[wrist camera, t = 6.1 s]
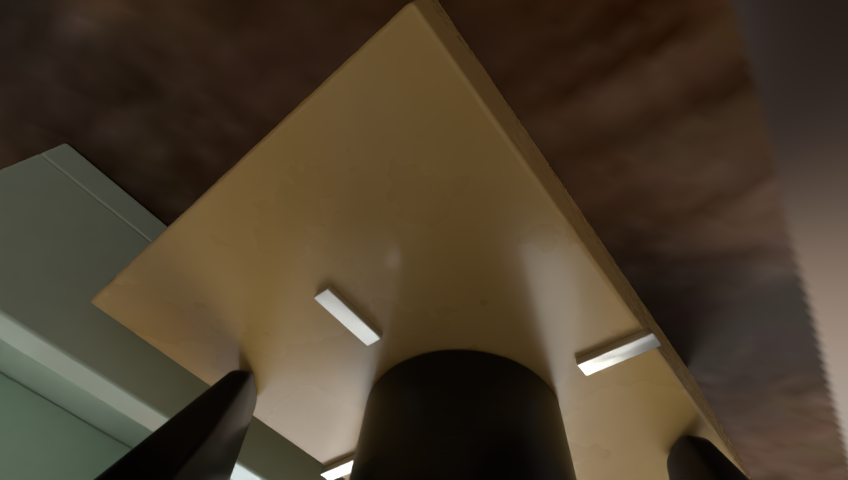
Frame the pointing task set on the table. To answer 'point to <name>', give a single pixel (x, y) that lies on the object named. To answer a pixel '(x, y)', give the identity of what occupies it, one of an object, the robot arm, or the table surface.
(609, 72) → the table surface
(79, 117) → the table surface
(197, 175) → the table surface
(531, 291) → the tap panel
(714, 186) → the table surface
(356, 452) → the black rotary knob
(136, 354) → the divided tray
